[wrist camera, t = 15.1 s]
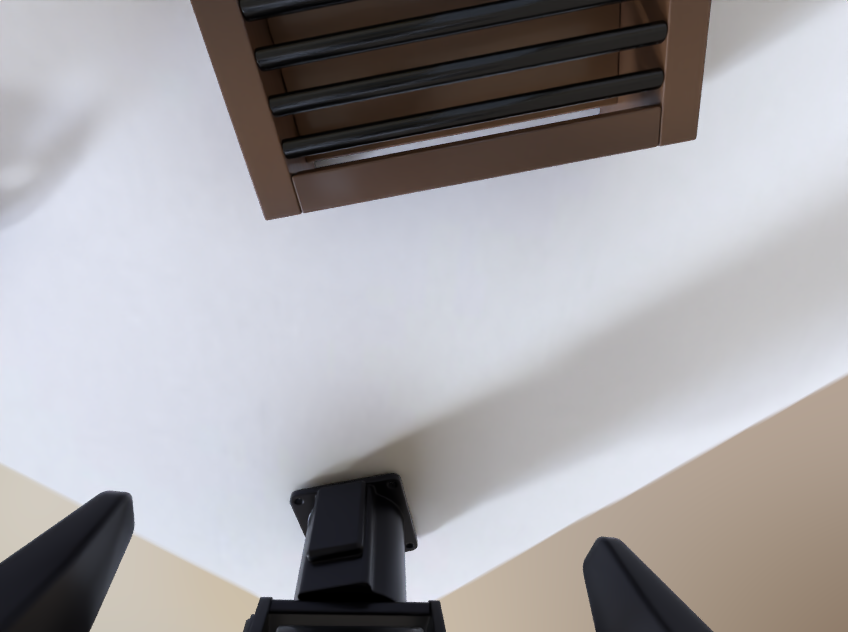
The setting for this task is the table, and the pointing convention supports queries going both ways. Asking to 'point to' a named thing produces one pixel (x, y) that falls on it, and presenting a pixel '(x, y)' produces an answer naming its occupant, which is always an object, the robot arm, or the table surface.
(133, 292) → the table surface
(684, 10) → the shoe rack
